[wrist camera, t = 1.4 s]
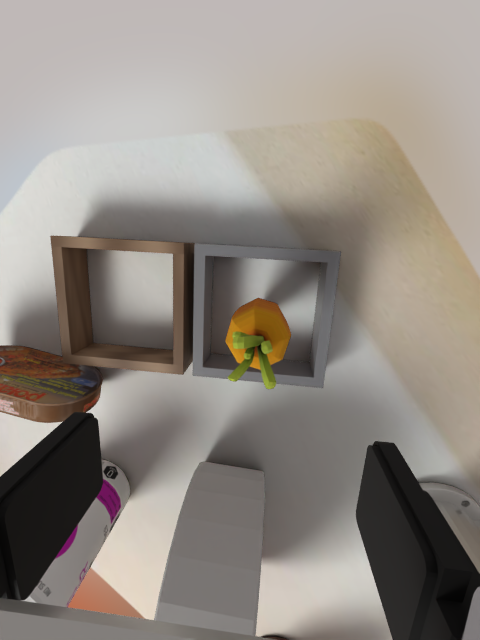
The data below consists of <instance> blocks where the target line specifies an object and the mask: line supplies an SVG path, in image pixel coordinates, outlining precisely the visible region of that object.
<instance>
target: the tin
mask: <svg viewBox="0 0 480 640" xmlns="http://www.w3.org/2000/svg"><path fill="white" fill-rule="evenodd" d="M102 382H103V377H102V374H101V373H100V371H99V370H98V369H96V368H95V367H94V366H88V365H78V364H67V363H63V357H61V356H57V355H54V354H50V353H47V352H43V351H39V350H36V349H32V348H28V347H23V346H0V412H3V413H6V414H10V415H14V416H17V417H21V418H24V419H28V420H32V421H36V422H44V423H53V422H62V421H65V420H66V419H67V418H68V417H69V416H70V415H71V414H73V413H74V412H83V413H86V412H87V411H89V410H90V409H91V408H92V407H93V406H94V405H95V404H96V403H97V402H98V400H99V398H100V392H101V385H102Z"/></svg>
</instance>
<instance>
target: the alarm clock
mask: <svg viewBox="0 0 480 640" xmlns="http://www.w3.org/2000/svg"><path fill="white" fill-rule="evenodd" d="M264 506H265V475H264V472H263V471H260V470H254V469H247V468H241V467H235V466H229V465H222V464H216V463H210V462H201V463H200V464H199V465H198V467H197V468H196V470H195V472H194V474H193V477H192V479H191V482H190V484H189V487H188V489H187V492H186V495H185V499H184V502H183V505H182V508H181V511H180V514H179V517H178V521H177V525H176V529H175V532H174V536H173V540H172V543H171V547H170V551H169V555H168V559H167V563H166V568H165V572H164V576H163V581H162V585H161V589H160V594H159V598H158V603H157V608H156V613H155V618H154V620H155V621H161V622H168V623H174V624H181V625H187V626H194V627H200V628H206V629H213V630H219V631H226V632H232V633H238V634H244V635H251V636H255V634H256V624H257V612H258V599H259V586H260V574H261V559H262V544H263V527H264Z"/></svg>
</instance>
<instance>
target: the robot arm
mask: <svg viewBox="0 0 480 640" xmlns="http://www.w3.org/2000/svg"><path fill="white" fill-rule="evenodd" d="M102 485H103V472H102V461H101V450H100V438H99V427H98V420H97V419H96V418H94V415H93V414H91V413H83V412H74V413H73V414H71V415H70V416H69V417H68V418H67V419H66V420H65V421H63V422H62V423H61V424H60V425H59V426H58V427H57V428H55V429H54V430H53V431H52V432H51V433H50V434H49V435H47V436H46V437H45V438H44V439H43V440H42V441H41V442H39V443H38V444H37V445H36V446H35V447H34V448H33V449H31V450H30V451H29V452H28V453H27V454H26V455H25V456H23V457H22V458H21V459H20V460H19V461H18V462H17V463H15V464H14V465H13V466H12V467H11V468H10V469H9V470H8V471H6V472H5V473H4V474H3V475H2V476H1V477H0V640H275V639H269V638H263V637H257V636H251V635H244V634H238V633H232V632H226V631H219V630H213V629H206V628H200V627H194V626H187V625H181V624H174V623H168V622H161V621H155V620H148V619H142V618H135V617H128V616H122V615H116V614H108V613H102V612H95V611H88V610H82V609H75V608H68V607H61V606H55V605H48V604H41V603H34V602H27V601H21V600H26V599H27V598H28V597H29V596H30V594H31V593H32V592H33V590H34V589H35V587H36V586H37V584H38V583H39V581H40V580H41V578H42V577H43V575H44V574H45V572H46V571H47V569H48V568H49V566H50V565H51V563H52V562H53V561H54V559H55V558H56V556H57V555H58V553H59V552H60V550H61V549H62V547H63V546H64V544H65V543H66V541H67V540H68V538H69V537H70V535H71V534H72V532H73V531H74V530H75V528H76V527H77V525H78V524H79V522H80V521H81V519H82V518H83V516H84V515H85V513H86V512H87V510H88V509H89V507H90V506H91V504H92V503H93V501H94V500H95V498H96V497H97V496H98V494H99V492H100V491H101V488H102ZM356 519H357V524H358V527H359V530H360V534H361V537H362V540H363V543H364V547H365V550H366V553H367V557H368V560H369V563H370V566H371V570H372V573H373V576H374V579H375V583H376V586H377V589H378V593H379V596H380V599H381V602H382V606H383V609H384V612H385V615H386V619H387V622H388V625H389V628H390V632H391V635H392V638H393V640H480V506H479V505H478V504H477V503H476V501H475V500H474V499H473V498H472V497H471V496H469V495H468V494H467V493H465V492H464V491H462V490H460V489H458V488H455V487H453V486H449V485H446V484H440V483H418V481H417V479H416V478H415V476H414V474H413V473H412V471H411V470H410V468H409V466H408V465H407V463H406V461H405V460H404V458H403V456H402V455H401V453H400V451H399V450H398V448H397V447H396V445H395V444H394V443H388V442H378V441H375V442H374V444H373V446H372V445H369V446H368V448H367V453H366V459H365V464H364V470H363V475H362V481H361V486H360V492H359V497H358V503H357V509H356Z"/></svg>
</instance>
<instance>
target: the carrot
mask: <svg viewBox="0 0 480 640" xmlns="http://www.w3.org/2000/svg"><path fill="white" fill-rule="evenodd" d="M290 337H291V332H290V329H289V326H288V324H287V321H286V319H285V317H284V316H283V314H282V312H281V310H280V308H279V306H278V304H276V303H274V302H270V301H267V300H264V299H261V298H257V299H255V300H253V301H251V302H249V303H247V304H245V305H243V306H241V307H239V308H238V310H237V311H236V312H235V313H234V315H233V316H232V319H231V322H230V326H229V329H228V333H227V336H226V340H225V341H226V343H227V345H228V347H229V349H230V350H231V352H232V354H233V356H234V357H235V359H236V361H237V363H240V365H239V366H238V367H237V368H236V369H235V370H234V371H233V372H232V373H231V374H230V375H229V376H228V379H229V380H231V381H237V380H238V379H239V378H240V377H241V376H242V375H243V374H244V373H245V372H246V370H247V369H248V368H249V366H250V367H253V368H256V369H259V370H261V374H262V378H263V382H264V385H265V387H266V388H267V389H272V388H274V387H275V385H276V379H275V376H274V373H273V371H272V368H271V365H272V364H274V363H276V362H278V361H280V360H282V359H283V357H284V354H285V351H286V349H287V346H288V343H289V340H290Z"/></svg>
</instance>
